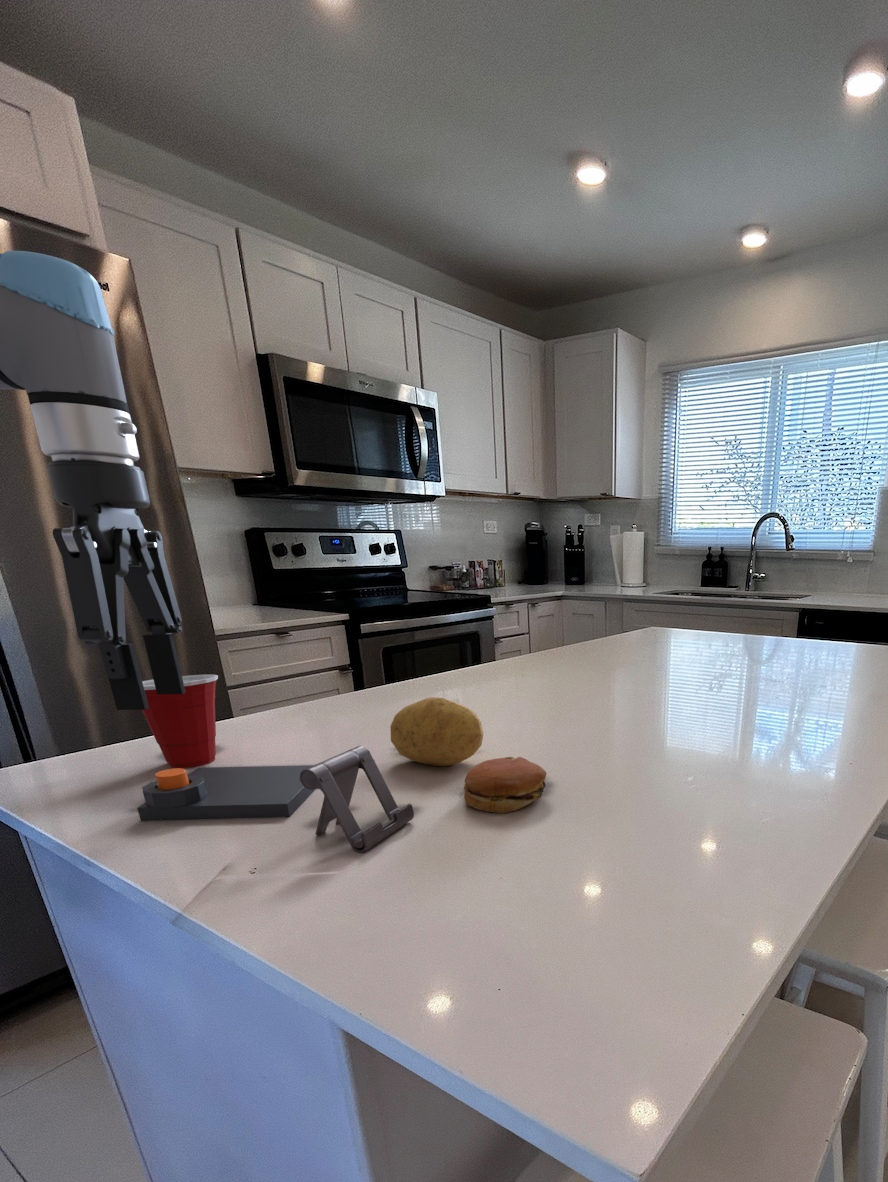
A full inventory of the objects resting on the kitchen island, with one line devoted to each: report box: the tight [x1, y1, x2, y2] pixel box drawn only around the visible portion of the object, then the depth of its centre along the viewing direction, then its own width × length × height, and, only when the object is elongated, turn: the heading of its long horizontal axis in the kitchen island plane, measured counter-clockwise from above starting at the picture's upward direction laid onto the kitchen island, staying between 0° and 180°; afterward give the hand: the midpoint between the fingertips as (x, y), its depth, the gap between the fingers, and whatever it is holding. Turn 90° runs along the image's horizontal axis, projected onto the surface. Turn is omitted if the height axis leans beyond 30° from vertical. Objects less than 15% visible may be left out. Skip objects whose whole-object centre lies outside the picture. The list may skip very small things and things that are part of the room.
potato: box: [390, 696, 484, 767], centre depth 91 cm, size 10×13×9 cm
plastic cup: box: [141, 674, 219, 769], centre depth 91 cm, size 11×11×12 cm
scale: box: [136, 764, 316, 822], centre depth 79 cm, size 16×14×4 cm
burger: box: [463, 756, 548, 814], centre depth 79 cm, size 10×9×5 cm
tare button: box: [154, 768, 189, 790], centre depth 74 cm, size 3×3×2 cm
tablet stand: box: [300, 745, 415, 854], centre depth 69 cm, size 9×8×8 cm
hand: (153, 700), depth 71 cm, fingers open, 7 cm apart
